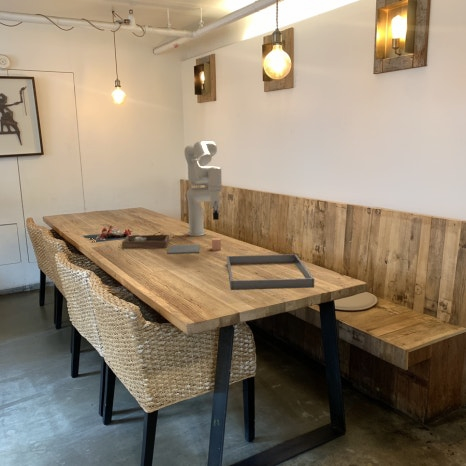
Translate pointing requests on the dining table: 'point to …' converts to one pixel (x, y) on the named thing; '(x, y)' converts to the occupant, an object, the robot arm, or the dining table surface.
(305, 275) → the charcoal rectangular open frame
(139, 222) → the dining table surface
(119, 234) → the platter
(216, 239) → the terracotta block
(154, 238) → the walnut tray
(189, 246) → the slate mat
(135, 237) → the reed diffuser
